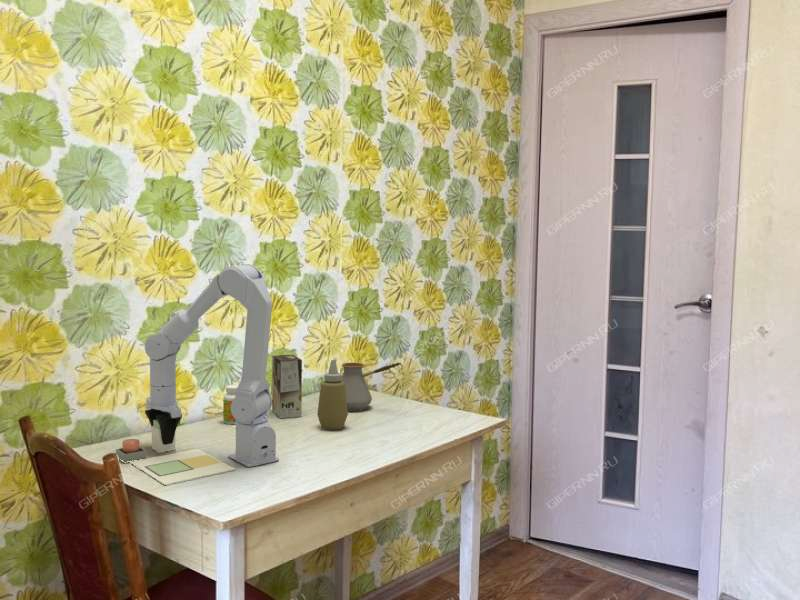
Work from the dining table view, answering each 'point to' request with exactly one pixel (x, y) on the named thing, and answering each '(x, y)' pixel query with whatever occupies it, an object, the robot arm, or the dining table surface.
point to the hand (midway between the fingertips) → (163, 441)
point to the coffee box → (286, 386)
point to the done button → (131, 446)
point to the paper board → (182, 466)
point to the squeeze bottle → (332, 400)
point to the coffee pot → (358, 385)
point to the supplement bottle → (229, 404)
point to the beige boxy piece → (160, 439)
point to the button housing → (131, 455)
